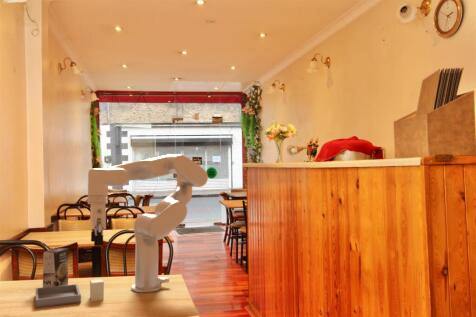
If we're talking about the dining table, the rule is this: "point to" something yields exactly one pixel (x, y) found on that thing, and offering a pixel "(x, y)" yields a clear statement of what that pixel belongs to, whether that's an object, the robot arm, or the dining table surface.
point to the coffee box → (55, 267)
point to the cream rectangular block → (96, 289)
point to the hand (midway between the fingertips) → (96, 243)
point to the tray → (57, 295)
